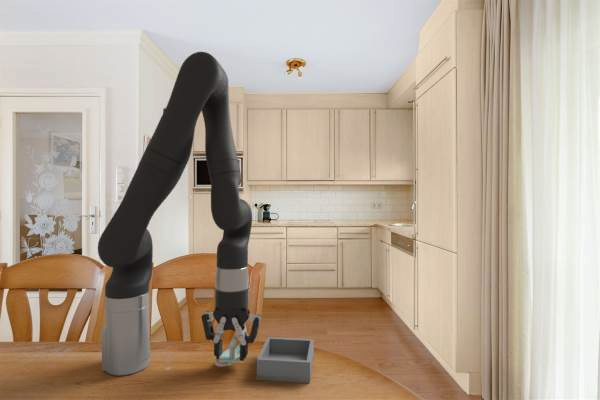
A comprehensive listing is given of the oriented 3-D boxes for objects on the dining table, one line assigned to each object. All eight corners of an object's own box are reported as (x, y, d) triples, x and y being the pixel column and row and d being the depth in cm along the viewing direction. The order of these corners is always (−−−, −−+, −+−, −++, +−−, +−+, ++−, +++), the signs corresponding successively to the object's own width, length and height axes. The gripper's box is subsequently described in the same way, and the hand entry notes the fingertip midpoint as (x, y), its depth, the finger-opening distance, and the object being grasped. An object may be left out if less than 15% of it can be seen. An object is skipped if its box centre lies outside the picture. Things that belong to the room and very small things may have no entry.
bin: (256, 379, 78) (256, 359, 77) (267, 354, 89) (267, 337, 89) (309, 383, 76) (310, 362, 76) (313, 357, 88) (313, 339, 88)
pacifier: (209, 368, 80) (234, 371, 78) (208, 340, 79) (234, 343, 78) (222, 353, 87) (246, 355, 86) (222, 328, 87) (245, 330, 85)
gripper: (195, 288, 79) (194, 364, 79) (258, 292, 77) (257, 369, 78) (208, 279, 86) (207, 348, 87) (266, 282, 85) (264, 353, 85)
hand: (230, 358), depth 82 cm, fingers closed on pacifier, 5 cm apart
